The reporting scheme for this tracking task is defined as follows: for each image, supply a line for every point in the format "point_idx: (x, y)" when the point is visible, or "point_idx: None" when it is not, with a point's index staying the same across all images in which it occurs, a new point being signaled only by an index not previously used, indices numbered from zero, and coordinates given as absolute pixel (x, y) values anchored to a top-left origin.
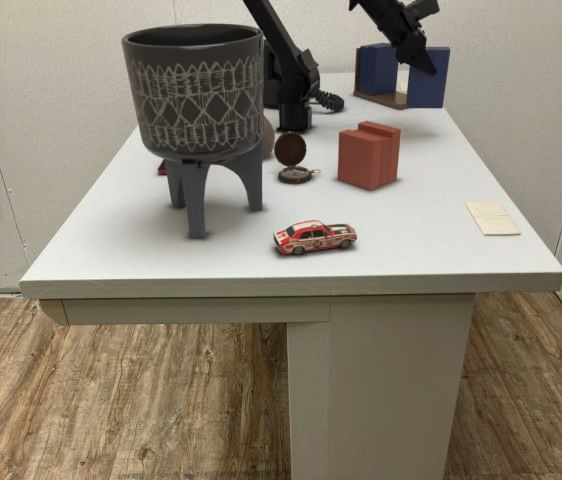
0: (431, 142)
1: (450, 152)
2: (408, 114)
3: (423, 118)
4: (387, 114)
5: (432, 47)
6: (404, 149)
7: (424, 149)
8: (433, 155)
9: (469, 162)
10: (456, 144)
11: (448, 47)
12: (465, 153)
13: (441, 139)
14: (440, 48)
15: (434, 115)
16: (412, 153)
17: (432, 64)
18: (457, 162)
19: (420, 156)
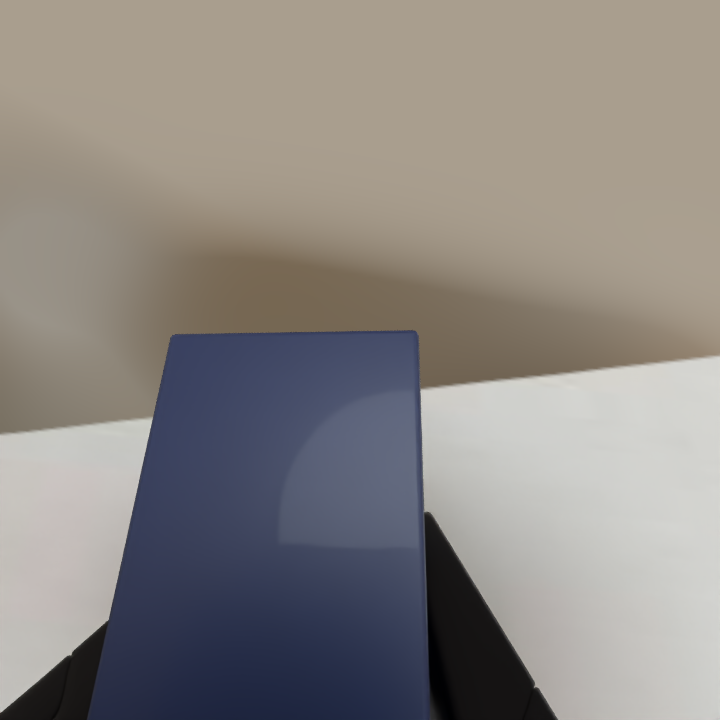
0: (469, 504)
1: (591, 438)
2: (50, 574)
3: (126, 507)
4: (21, 693)
5: (178, 644)
6: (594, 647)
7: (574, 545)
8: (649, 512)
9: (697, 381)
10: (483, 406)
11: (222, 344)
12: (590, 384)
13: (424, 457)
14: (299, 484)
15: (93, 455)
16: (646, 610)
17: (481, 596)
18: (712, 424)
19: (680, 574)
